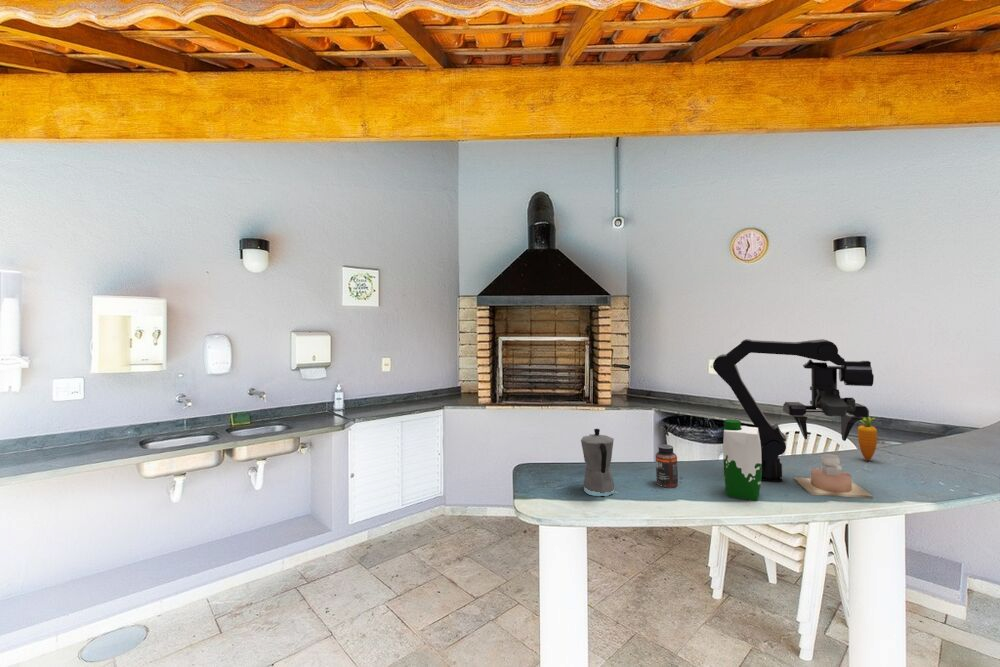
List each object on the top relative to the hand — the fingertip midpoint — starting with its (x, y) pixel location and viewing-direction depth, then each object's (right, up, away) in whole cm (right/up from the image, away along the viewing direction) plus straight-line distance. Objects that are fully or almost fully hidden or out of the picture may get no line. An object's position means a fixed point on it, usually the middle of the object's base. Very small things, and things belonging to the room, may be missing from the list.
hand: (824, 439), depth 121 cm
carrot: (+27, -12, +18) cm, 35 cm away
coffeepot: (-63, -16, +2) cm, 65 cm away
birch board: (0, -13, -2) cm, 13 cm away
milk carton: (-25, -14, -3) cm, 29 cm away
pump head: (0, -9, -3) cm, 10 cm away
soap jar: (0, -13, -2) cm, 13 cm away
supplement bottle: (-42, -15, +5) cm, 45 cm away
